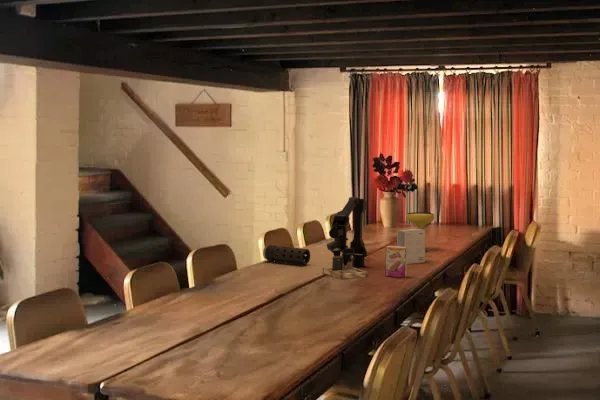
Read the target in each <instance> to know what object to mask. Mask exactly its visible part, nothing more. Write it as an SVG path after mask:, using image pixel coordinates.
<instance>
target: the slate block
mask: <svg viewBox="0 0 600 400" xmlns="http://www.w3.org/2000/svg"><path fill="white" fill-rule="evenodd" d="M346 273H358V272H357V271H356V270H349V271H341V274H346Z"/></svg>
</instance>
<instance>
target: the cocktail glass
mask: <svg viewBox="0 0 600 400" xmlns="http://www.w3.org/2000/svg"><path fill="white" fill-rule="evenodd" d="M406 219H407V221H408V222H410V223H412V224H413V225H415V226H416V227H417V229H422V230H423V228H424V227H425V226H427V225H428V224H430V223H432V222H433V221H435V214H434V213H431V212H422V211H421V212H420V211H419V212H417V211H416V212H415V211H414V212H413V211H412V212H407V213H406ZM426 251H428V250H427V249H425V253H427V252H426Z"/></svg>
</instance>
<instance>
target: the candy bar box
mask: <svg viewBox="0 0 600 400" xmlns="http://www.w3.org/2000/svg"><path fill="white" fill-rule="evenodd" d="M384 269H385V272H384V276H385V277H390V278H401V279H402V278H403V279H405V278H406V277H407V276H408V273H407V271H408V264H407V247H399V246H396V245H387V246H385V268H384Z"/></svg>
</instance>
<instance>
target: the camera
mask: <svg viewBox="0 0 600 400" xmlns="http://www.w3.org/2000/svg"><path fill="white" fill-rule="evenodd" d="M352 258H353V256H351V257H350V259H349V261H348V263H347V265H346V266H344V260H343V255H342V254H340V256H334V255H333V256H332V262H331V263H332V265H331V266H332V271H337V270H350V269H352V267H353V266H352Z"/></svg>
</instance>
